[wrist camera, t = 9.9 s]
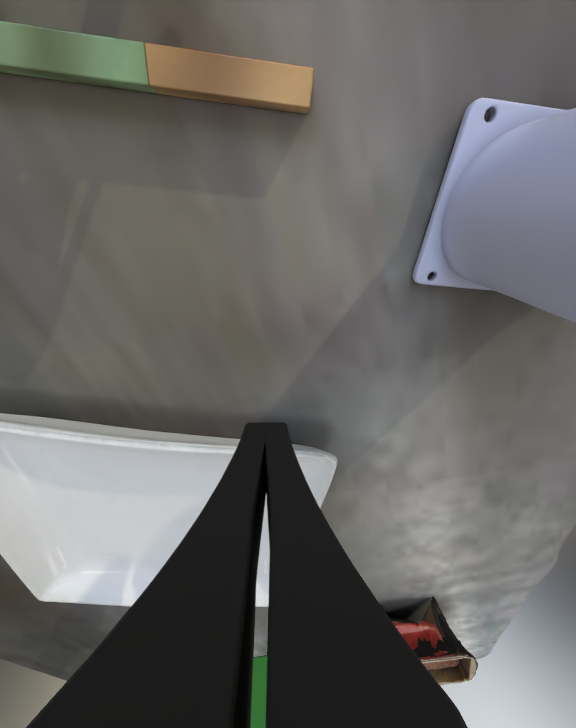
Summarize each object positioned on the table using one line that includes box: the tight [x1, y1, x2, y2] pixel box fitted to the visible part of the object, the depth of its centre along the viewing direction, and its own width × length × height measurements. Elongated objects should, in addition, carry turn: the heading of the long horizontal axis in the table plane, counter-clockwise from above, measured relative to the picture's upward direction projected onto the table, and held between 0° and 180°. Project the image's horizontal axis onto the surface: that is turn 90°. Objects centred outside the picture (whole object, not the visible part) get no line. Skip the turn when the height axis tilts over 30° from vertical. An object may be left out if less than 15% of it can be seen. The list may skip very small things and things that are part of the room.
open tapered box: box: [390, 597, 478, 685], centre depth 42 cm, size 14×18×10 cm
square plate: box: [0, 413, 338, 607], centre depth 25 cm, size 27×27×4 cm
